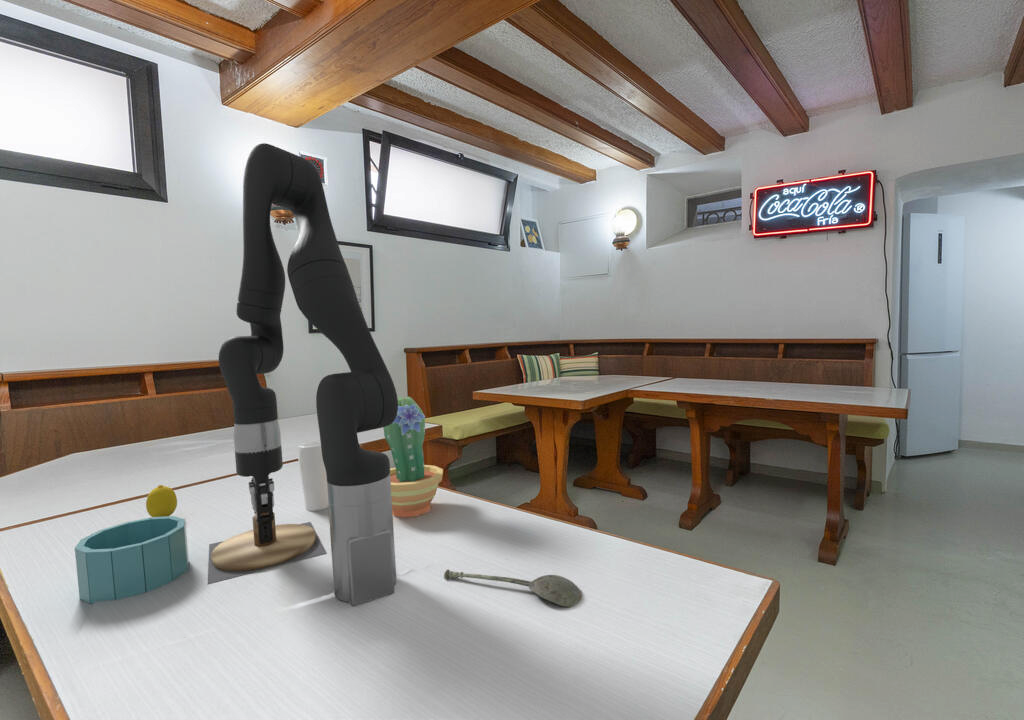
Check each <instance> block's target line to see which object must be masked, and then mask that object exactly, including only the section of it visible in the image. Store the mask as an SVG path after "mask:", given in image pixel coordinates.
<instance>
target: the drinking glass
mask: <svg viewBox="0 0 1024 720" xmlns="http://www.w3.org/2000/svg"><path fill="white" fill-rule="evenodd" d="M297 456H298V457H297V459H298V466H299V472H300V473H299V474H300V478H301V485H302V491H303V492H302V493H303V496H304V505H305V506H304V508H305V510H306V511H310V512H314V511H315V512H316V511H317V512H318V511H321V510H325V509H327V508H329V507H328V490H327V476H326V469H325V466H324V462H323V458H322V450H321V441H320V440H311V441H306V442H302V443H299V444H298V446H297Z"/></svg>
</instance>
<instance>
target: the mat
mask: <svg viewBox="0 0 1024 720" xmlns="http://www.w3.org/2000/svg"><path fill="white" fill-rule="evenodd" d="M300 524H301V525H306V526H309V527H311V528H313V529H314V530H315V534H316V541H315V544H314V545H313V546H312V547H311V548H310V549H309V550H308V551H306V552H305V553H303V554H302V555H300V556H298V557H296V558H294V559H292V560H289V561H287V562H284V563H281V564H278V565H274V566H271V567H267V568H262V569H257V570H250V571H224V570H220V569H218V568H216V567H214V566H213V564H212V558H211V554H212V551H213V550H214V549H215V547H217V546H218V545H219V544H221V543H222V542H224V541H225V540H222V541H217V542H214V543H209V546H208V561H207V562H208V565H207V582H206V583H207V585H210V584H211V585H212V584H214V583H219V582H223V581H226V580H227V581H228V580H231V579H234V578H239V577H242V576H246V575H250V574H254V573H257V572H261V571H264V570H269V569H274V568H276V567H277V568H278V567H280V566H284V565H289V564H293V563H297V562H301V561H304V560H307V559H312V558H315V557H320V556H323V555H327V554H328V552H327V551H326V549H325V547H324V545H323V543H322V542H321V539H320V537H319V535H318V533H317V532H316V529H315V527H314V526H313V524H312V522H311V521H308V522H303V523H300Z"/></svg>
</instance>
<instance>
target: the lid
mask: <svg viewBox="0 0 1024 720" xmlns="http://www.w3.org/2000/svg"><path fill="white" fill-rule="evenodd" d="M268 514H269V512H264V513H261V514H260V516H264V515H268ZM273 516H274V518H273V521H272V532H273V541H272V542H269V543H265V544H260V543H259V534H258V524H257V522H256V519H257V516H256V515H253V516H252V528H253V529H251V530H247V531H244V532H241V533H238V534H236V535H233V536H232V537H231V536H230V537H229V538H227V539H226V540H223V541H224V542H222V541H221V542H222V543H221V544H219V545H218V546H217V547H215V549H214V550H213V551H212V554H211V558H212V564H213V566H214V567H216V568H218V569H220V570H224V571H250V570H257V569H262V568H267V567H271V566H274V565H278V564H281V563H284V562H287V561H289V560H292V559H294V558H296V557H298V556H300V555H302V554H303V553H305V552H306V551H308V550H309V549H310V548H311V547H312V546H313V545H314V544H315V541H316V534H315V531H316V529H315V528H314V527H313V528H314V529H315V530H314V529H313V528H311V527H309V526H306V525H301V524H302V523H286V524H285V523H283V524H282V523H281V524H276V517H275V512H273Z"/></svg>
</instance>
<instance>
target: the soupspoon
mask: <svg viewBox="0 0 1024 720" xmlns="http://www.w3.org/2000/svg"><path fill="white" fill-rule="evenodd" d="M443 578H444V580H445V581H447V580H448V579H450V580H452V579H459V578H460V579H464V578H469V579H479V580H480V579H481V580H486V581H496V582H503V583H510V584H515V585H520V586H524V587H528V588H529V590H530V591H531V592H532V593H534V594H536V595H537V596H538V597H540V598H542V599H545V600H546V601H549V602H551V603H554V604H557V605H559V606H561V607H566V608H572V607H575V606H576V605H577V604H579V603H580V601H581V600H582V598H583V593H582V591H581V589H580V588H579V586H577V584H575V583H574V582H573V581H572V580H570V579H568V578H566V577H563V576H561V575H558V574H547V575H542V576H539V577H537V578H535V579H533V580H532V581H530V580H525V579H519V578H514V577H509V576H508V577H506V576H496V575H487V574H480V573H479V574H477V573H466V572H465V573H464V572H463V571H461V572H457V571H452V570H450V569H449V568H448V569H446V570H445V571H444V574H443Z"/></svg>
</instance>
